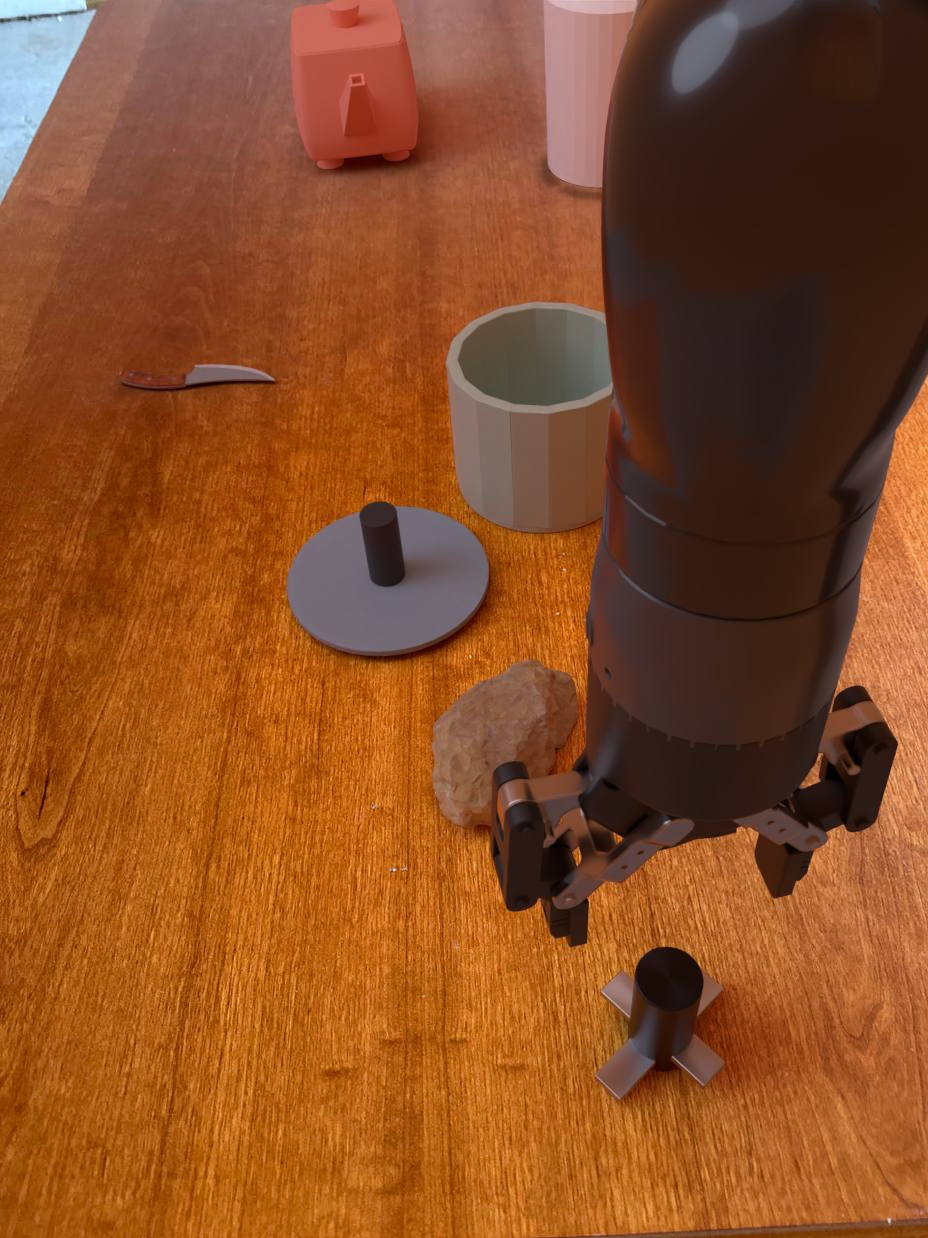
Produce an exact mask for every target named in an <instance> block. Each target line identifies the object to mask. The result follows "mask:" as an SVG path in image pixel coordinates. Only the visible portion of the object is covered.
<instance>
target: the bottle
mask: <svg viewBox="0 0 928 1238" xmlns="http://www.w3.org/2000/svg"><path fill="white" fill-rule="evenodd" d="M636 3H637V0H543V31H544V32H543V33H544V34H543V35H544V67H545V68H544V71H545V73H544V74H545V77H544V79H545V110H546V111H545V113H546V153H547V158H546V159H547V167H548V169H549V170H550V172H551V173H552V174H553V175H554V176H555V177H556V178H557V179H559V180H562V181H564V182H566V183H569V184H572V185H574V186H580V187H583V188H584V187H585V188H596V189H600V188H601V189H602V175H603V155H604V141H605V130H606V122H607V115H608V108H609V103H610V97H611V92H612V87H613V83H614V79H615V76H616V72H617V69H618V65H619V61H620V58H621V54H622V51H623V48H624V45H625V43H626V40H627V36H628V32H629V28H630V25H631V21H632V17H633V13H634V10H635V6H636Z"/></svg>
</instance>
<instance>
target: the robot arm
mask: <svg viewBox="0 0 928 1238" xmlns="http://www.w3.org/2000/svg"><path fill="white" fill-rule="evenodd" d="M600 207H601V210H600V246H601V248H600V249H601V250H600V251H601V252H600V253H601V255H600V256H601V277H602V278H601V279H602V293H603V294H602V295H603V308H604V309H603V310H604V314H605V319H606V330H607V341H608V352H609V361H610V368H611V375H612V382H613V388H612V394H611V399H610V405H609V411H608V420H607V430H606V440H605V446H606V451H605V474H604V497H603V517H601V527H600V535H599V539H598V543H597V546H596V551H595V556H594V559H593V565H592V570H591V578H590V593H589V603H588V604H587V605H588V606H587V610H586V612H585V621H584V623H585V626H584V627H585V638H586V640H587V642H588V645H587V676H586V677H587V678H586V702H585V703H586V704H585V706H586V707H585V746H584V748H583V750H582V752H581V753H580V755H579V756H578V757H577V758H576V760H575V761H574V762H573V764H572V767H571V770H570V771H566V772H561V773H556V774H549V775H548V776H545V777H539V778H534V779H530V777H529V774H528V771H527V768H526V765H525V764H524V763H522V762H519V761H510V762H506V763H504V764H502V765H500V766H498V767H497V768H496V769H495V770H494V772H493V775H492V805H491V826H490V835H489V836H490V837H489V838H490V839H489V843H490V844H489V853H490V855H491V859H492V863H493V866H494V869H495V873H496V876H497V877H496V878H497V881H498V884H499V887H500V891H501V894H502V895H501V896H502V899H503V902H504V905H505V908H506V910H507V911H509V912H514V913H515V912H516V913H517V912H523V911H526V910H529V909H531V908H533V907H534V906H535V905H536V904H537V903H538V901H539V899H540V904H541V908H542V912H543V915H544V917H545V921H546V924H547V928H548V932H549V934H550V935H551V936H552V937H553V938H554V939H555V940H556V939H561V938H564V937H565V939H566V943H567V945H568V947H569V948H575V947H579V946H582V945H583V946H584V945H586V944H588V935H589V934H588V933H589V931H588V930H589V914H590V913H589V912H590V911H589V910H590V901H589V897H590V896H592V894H594V892H596V891H597V890H598V889H599V888H600V887H602V885H604V883H606V882H607V883H612V884H622V883H624V882H625V881H626V880H628V878H630V877H631V876H632V875H633V874H634V873H635V872H637V871H638V870H639V869H640V868H641V867H642V866H643V865H645V864H646V863H647V862H649V860H650V859H651V858H653V857H654V856H655V855H656V854H657V853H658V852H660V851H664V850H670V849H672V848H676V847H679V846H682V845H684V844H687V843H689V842H692V841H696V840H703V839H715V838H716V839H717V838H720V837H724V836H728V835H734V834H737V831H738V828H743V829H745V830H748V829H752V830H754V831H755V832H756V833H758V835H757V839H756V842H755V847H754V853H753V854H754V860H755V863H756V866H757V868H758V870H759V873H760V875H761V877H762V880H763V882H764V884H765V886H766V888H767V891H768V892H769V894H770V896H771V898H772V899H780V898H783V897H788V896H791V895H793V892H794V889H795V887H796V883H797V882H800V881H802V879H803V878H804V877H805V876H806V875H807V874H808V871H809V868H810V865H811V861H812V860H813V856H814V853H815V851H816V850H817V849H820V848H821V847H823V846H824V845H825V844H827V842H828V841H829V837H830V836H829V835H828V832H829V831H832V830H834V829H837V828H839V827H842V826H844V828H845V830H846V831H847V832H848V833H859V832H862V831H864V830H867V829H869V828H870V827H872V826H873V825H874V824H875V823H876V821H877V819H878V817H879V813H880V809H881V806H882V803H883V800H884V797H885V796H884V795H885V793H886V788H887V785H888V782H889V778H890V775H891V774H890V773H891V771H892V767H893V764H894V761H895V758H896V754H897V750H898V747H899V742H898V740H897V738H896V736H895V735H894V733H893V731H892V730H891V729H890V727H889V725H888V722H887V721H886V719H885V718H884V715H883V714H882V712H881V711H880V709H879V708H878V706H877V704H876V702H874V700H873V699H872V697H871V695H870V693H869V692H868V691H867V688H866V687H865V686H863V685H860V684H859V685H852V686H848V687H846V688H844V689H842V690H840V692H839V693H837V694H836V691H837V687H838V683H839V680H840V677H841V673H842V670H843V667H844V664H845V659H846V656H847V653H848V649H849V647H850V643H851V639H852V635H853V633H854V629H855V625H856V621H857V617H858V613H859V602H860V594H861V587H862V586H861V582H862V570H863V564H864V559H865V555H866V552H867V549H868V546H869V542H870V538H871V534H872V531H873V527H874V525H875V521H876V517H877V513H878V509H879V506H880V503H881V499H882V495H883V492H884V488H885V484H886V481H887V475H888V472H889V467H890V463H891V459H892V455H893V450H894V446H895V441H896V440H895V439H896V433H897V429H898V428H899V427H900V425H901V424H902V422H903V421H904V419H905V417H906V416H907V415H908V413H909V412H910V411H911V408H912V406H913V405H914V404H915V402H916V399H917V398H918V395H919V393H920V392H921V389H922V388H923V385H924V383H925V381H926V380H927V377H928V0H637V3H636V6H635V10H634V13H633V17H632V21H631V25H630V28H629V32H628V36H627V40H626V43H625V45H624V48H623V51H622V54H621V58H620V61H619V65H618V69H617V72H616V76H615V79H614V83H613V87H612V92H611V97H610V103H609V108H608V115H607V122H606V130H605V141H604V155H603V175H602V188H601V205H600ZM835 694H836V696H835ZM831 708H832V709H831ZM819 754H821V755H822V756H821V762H820V766H819V771H818V780H819V781H818V782H816V783H813V784H810V785H808V786H806V787H804V785H803V782H804V781H805V780H806V778H807V777H808V775H809V774H810V773H811V770H812V769H814V766H815V765H816V763H817V761H818V758H819ZM563 817H564V818H563ZM562 818H563V819H562ZM561 820H562V821H561ZM614 834H616V835H617V836H619V837H621V838H622V839H621V840H620V841H619V842H618V843H617V841H616V839H615V836H614ZM577 849H579V852H580V853H579V854H580V856H581V857H580V861H579V863H578V865H577V862H576V859H575V856H574V852H575V851H576V850H577Z"/></svg>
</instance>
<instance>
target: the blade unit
mask: <svg viewBox="0 0 928 1238" xmlns="http://www.w3.org/2000/svg"><path fill="white" fill-rule="evenodd" d="M724 991H725V988H724V987H723V986H722V985H721V984H720V983H719V982H717V981H716V980H715V979H714V978H712V977H711V976H710V975H709V974H707V972H705V971H704V970H703V969H702V968H701V966H700V965H699V963H698V961H697V960H695V958H694V957H693V956H692V955H690V954H689V953H688V952H687V951H684V950H683V949H681V948H677V947H673V946H659V947H655V948H653V949H651V950H649V951H647V952H645V954H643V955H642V956H641V957H640V959H639V960H638V962H637V964H636V967H635V969H634V977H633V978H632V977H631V976H630V975H629V974H628V973H627V972H626V971H624V970H623V969H620V971H618V972H617V973H616V974H615V975H614V977H612V978H611V979H610V980H609V981H608V982H607V983H606V984H605V985H604V987H602V988H601V989H600V990H599V995H600V997H601V998H603V999H604V1000H605V1002H607V1003H608V1004H609V1005H610V1006H611V1007H612V1008H614V1009H615V1010H616V1011H617V1012H618V1013H619V1014H620V1015H621V1016H622V1017H623V1018H625V1020H626V1021H627V1022H628V1033H627V1040H626V1041H625V1042H624V1043H623V1045H622V1046H620V1048H619V1049H617V1051H616V1052H615V1053H613V1055H612V1056H611V1057H610V1058H609V1059H607V1061H606V1062H605V1063H603V1065H602V1066H601V1067H599V1069H598V1070H597V1071H596V1073H594V1076H593V1078H594V1080H595V1081H596V1082H597V1083H598V1084H599V1085H600V1086H601V1087H602V1088H603V1089H604V1090H605V1091H606V1092H607V1093H608V1094H609V1095H610V1096H612V1098H613V1099H614V1100H615V1101H616V1102H617V1103H621V1102H622V1101H623V1100H625V1098H626V1097H627V1096H628V1095H629V1094H630V1093H631V1092H632V1091H633V1089H635V1087H636V1086H637V1085H638V1084H640V1082H641V1081H642V1080H643V1079H644V1078H645V1077H646V1076H647V1075H648V1074H649V1072H651V1070H652V1071H655V1072H669V1071H672V1070H675V1069H677V1068H679V1069H680V1070H681V1071H682V1073H684V1074H685V1075H686V1076H687V1077H688V1078H689V1079H690V1080H692V1081H693V1082H694V1083H695V1084H696V1085H697V1086H698V1087H699V1088H700V1089H701V1090H705V1089H706V1088H707V1087H708V1085H710V1084H711V1082H713V1080H714V1079H715V1078H716V1077H717V1076H718V1074H719V1073H720V1072H721V1071H722V1070H723V1069H724V1068H725V1067H726V1061H725V1060H724V1058H722V1057H721V1056H720V1055H719V1054H718V1053H716V1052H715V1051H714V1050H713V1049H712V1048H711V1047H710V1046H708V1044H707V1043H705V1042H704V1041H703V1040H702V1039H701V1038H699V1036H698V1035H696V1034H695V1033H694V1032H695V1028H696V1024H697V1022H698V1020H699V1019H700V1018H701V1017H702V1016H703V1015H704V1014H705V1013H706V1012H707V1010H708V1009H710V1008H711V1007H712V1005H713V1004H714V1003H715V1002H716V1001H717V1000H718V999H719V998H720V997H721V996H722V995H723V993H724Z"/></svg>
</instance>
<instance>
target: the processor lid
mask: <svg viewBox="0 0 928 1238" xmlns="http://www.w3.org/2000/svg"><path fill="white" fill-rule="evenodd" d="M489 583H490V565H489V560H488V556H487V553H486V550H485V549H484V547H483V545H482V543H481V541H480V540H479V539H478V537H477V536H476V535H475V534H474V533H473V532H472V531H471V530H470V529H469V528H467V527H466V526H465V525H464V524H462V523H461V522H459V521H458V520H456V519H454V518H452V517H450V516H448V515H446V514H444V513H442V512H438V511H434V510H431V509H428V508H422V507H417V506H416V507H415V506H403V505H402V506H401V505H400V506H399V505H393V503H391V502H388V501H383V500H381V501H379V500H378V501H372V502H369V503H368V504H366V505H364V506H363V507H362V509H360V511H357V512H354V513H350V514H348V515H345V516H344V517H340V518H339V519H337V520H335V521H333V522H331V523H329V524H327V525H326V526H325V527H323V528H322V529H320V530H319V531H318V532H316V533H315V534H314V535H313V536H312V537H310V538H309V539H308V540H307V541H306V542H305V543H304V545H303V546H301V548H300V549H299V551H298V552H297V554H296V555H295V556H294V558H293V560H292V562H291V565H290V567H289V570H288V574H287V580H286V594H287V599H288V603H289V606H290V610H291V612H292V614H293V616H294V618H295V619H296V621H297V622H298V624H299V625H300V627H302V628H303V630H305V631H306V633H307V634H309V636H311V637H312V638H314V639H316V641H318V642H320V643H322V644H324V645H326V646H327V647H330V648H331V649H332V648H333V649H335V650H338V651H340V652H344V653H349V654H352V655H359V656H367V657H385V656H386V657H388V656H391V657H392V656H399V655H404V654H409V653H413V652H417V651H420V650H423V649H426V648H429V647H431V646H435V645H436V644H438V643H440V642H442V641H444V640H446V639H448V638H449V637H451V636H452V635H454V634H455V633H457V632H458V631H459V630H461V629H462V628H463V627H464V626H465V625H467V624H468V623H469V621H470V620H471V619H472V618H473V617H474V616H475V615H476V613H477V611H479V609H480V608H481V606H482V604H483V602H484V600H485V598H486V595H487V592H488V589H489V585H490V584H489Z"/></svg>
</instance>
